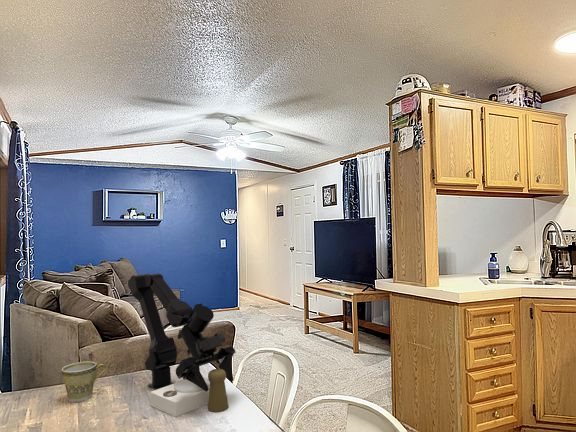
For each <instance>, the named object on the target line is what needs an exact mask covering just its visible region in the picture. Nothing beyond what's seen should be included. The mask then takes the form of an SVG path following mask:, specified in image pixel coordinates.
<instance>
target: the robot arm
mask: <svg viewBox="0 0 576 432" xmlns="http://www.w3.org/2000/svg"><path fill="white" fill-rule="evenodd" d="M127 286H128V288H129V291H130V292H131V293H130V294H131V295H132V296H133V297H134V298H135V300H137V301H139V305H140V308H141V312H142V315H143V318H144V321H145V324H146V328H147V332H148V334H149V338H150V344H149V348H148V353H149V356H148V357H147V358H146V360H145V362H144V366H145V369H146V370H148V371H150V372H151V383H149V384H147V387H148V388H151V389H154V390H157V389H160V388H163V387H166V386H169V385H171V384H174V383H175V382H173V381H172V373H171V366H175V365H176V363H177V360H178V359H177V358H178V347H177V346H176V342H175V339H174V338H173V337H168V336H167V334H166V331H165V329H164V326H163V323H162V319H161V316H160V313H159V310H158V307H157V303H156V300H155V297H156V298H157V299H158V300H159V302H160V303H161V305H162V306H163V307H164V309H165V311H166V312H165V313H166V314H165V318H166V319H167V321H168V323H169V324H170V326H171V327H172V328H178V327H182V328H181V329H178V334H177V340H181V339H182V340H183V342H184V344H185V345H186V347H187V351H186V353H187V354H188V355H191V356H190V357H187V358H184V359H181V361H180V363H178V365H177V367H176V369H175V375H176V377H177V379H178V380H179V379H180V380H181V379H184V380H185V379H186V380H188V381H190V382H192V383H194V384H195V385H197V386H198V387H200V388H201V389H203V390H204V391H206V392H207V391H208V390H209V389H208V386H207V384H206V382H205V380H204V378H205V377H204V378H203V375H202V372H201V370H200V369H201V368H200V367H202V366H205V365H208V364H211V363H214V362H216V364H218V369H223V370H224V371H225V372H226V379H228V380H229V381H230V382H233V381H234V374H233V369H232V358H233V357H234V355H235V353H236V352H237V350H236V349H235V347H234V346H233V345H225V346H223V343H224V342H226V338H225V337H226V336H225V335H224V333H222V331H219V332H216V333H214V335H213V336H210V337H208V336H205V335H204V334H203V332H205V330H206V329H207V328H208V326H209V325H210V324H211V322H212V320H213V319H214V316H215V314H214V312H213V310H212V309H211V308H209V306H205V305H203V304H202V302H201V303H195V305H194V307H193V308H192V306H191V305H190V304H188V302H186V301H183V300H181V299H179V298H178V296H177V295H176V294H175V292H174V291H173V290H172V288H170V286H169V284H168V283H167V282H166V281H165V279H164V277H163V274H161V273H153V274H150V273H143V274H135V275H131V276H130V278H129V279H128V282H127ZM154 295H155V297H154ZM221 346H223V347H221ZM218 347H221V348H220V349H219V351H218V352H217V353H215V352H216V351H217V350H218V349H217V348H218Z"/></svg>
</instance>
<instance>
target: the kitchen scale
mask: <svg viewBox="0 0 576 432" xmlns="http://www.w3.org/2000/svg"><path fill="white" fill-rule="evenodd" d="M202 377H203V376H202ZM203 378H204V380H205V382H206V384H207V386H208V389H210V382H209V379H208V377H203ZM149 397H150V406H151V407H153V408H155V409H157V410H159V411H162V412H163V413H167V414H168V415H170V416H173V417H175V418H177V417H180V416H182V415H185V414H186V413H189V412H192V411H194V410H196V409H198V408H201V407H203V406H206V405H208V400H209V390H208V391H207V392H206V391H204V390H203V389H201V388H200V387H198V386H197V385H195V384H194V383H192V382H190V381H188V380H186V379H185V380H184V379H183V378H181V379H180V380H178V381H176V382H174V384H171V385H169V386H166V387H163V388H160V389H157V390H156V389H154V390H152V391H150V393H149Z"/></svg>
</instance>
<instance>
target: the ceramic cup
mask: <svg viewBox="0 0 576 432" xmlns="http://www.w3.org/2000/svg"><path fill="white" fill-rule="evenodd" d="M100 366H103V369H102V370H101V371H100V372H99V374H98V375H97V376H96V373H97V370H98V369H99V367H100ZM105 370H106V364H105V363H101V362H99V363H98V364H97V362H94V361H79V362H73V363H71V364H67V365H65V366H63V367H62V368H61V375H62V379H63V382H64V387H65V391H66V397H67V400H68V401H69V402H70V403H81V402H84V401H87V400H89V399H91V398H92V397H93V391H94V384H95V383H96V381H97V380H98V378H99V377H100V376H101V374H103V373H104V372H105Z"/></svg>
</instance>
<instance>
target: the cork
mask: <svg viewBox="0 0 576 432" xmlns="http://www.w3.org/2000/svg"><path fill="white" fill-rule="evenodd" d="M207 378H208V379H209V382H210V389H209V400H208V404H207V411H208V412H210V413H213V414H214V413H223V412H226V411H227V410H228V409H229V408H230V407H229V401H228V394H227V389H226V384H225V382H226V379H227V377H226V372H225V371H224V370H223V369H220V368H213V369H211V370H210V371H209V372H208V375H207Z"/></svg>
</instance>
